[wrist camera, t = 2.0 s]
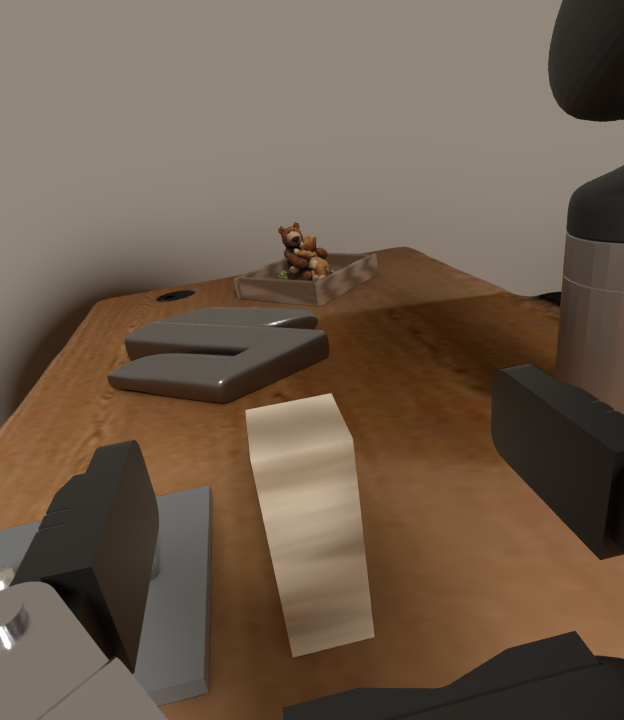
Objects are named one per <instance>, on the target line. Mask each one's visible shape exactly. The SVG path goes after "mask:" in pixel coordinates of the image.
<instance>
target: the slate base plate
mask: <svg viewBox="0 0 624 720" xmlns="http://www.w3.org/2000/svg"><path fill="white" fill-rule="evenodd" d="M156 501H157V505H158V512H159V531H158V537H157V543H156V549H155V555H154V561H153V566H152V572H151V578H150V584H149V590H148V596H147V602H146V608H145V614H144V620H143V626H142V631H141V637H140V643H139V649H138V655H137V661H136V667H135V673H133V674H132V675H133V676H134V678H135V679H136V680H137V681H138V683H139V684H140V685H141V686H142V688H143V689H144V690H145V691H146V693H147V694H148V695H149V696H150V698H151V699H152V700H153V701H154V703H155V704H156V705H157V706H160V705H164V704H168V703H172V702H176V701H179V700H183V699H187V698H191V697H195V696H199V695H203V694H207V693H209V649H210V601H211V553H212V505H213V497H212V493H211V489H210V485H209V486H204V487H200V488H195V489H190V490H185V491H181V492H176V493H171V494H167V495H162V496H157V497H156ZM41 522H42V521H39V522H34V523H30V524H25V525H20V526H15V527H11V528H6V529H2V530H1V532H0V591H1V590H3V589H6V588H8V587H9V586H10V584H11V582H12V580H13V578H14V576H15V574H16V572H17V570H18V568H19V566H20V564H21V562H22V560H23V558H24V556H25V554H26V552H27V550H28V548H29V546H30V544H31V542H32V540H33V538H34V536H35V534H36V532H39V529H38V528H39V526H40V524H41Z"/></svg>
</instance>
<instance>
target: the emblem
mask: <svg viewBox="0 0 624 720" xmlns="http://www.w3.org/2000/svg"><path fill="white" fill-rule="evenodd" d="M317 323H318V319H317V317H316V315H315V313H313V312H312V311H308V310H304V309H297V308H223V307H211V308H206V309H202V310H198V311H194V312H190V313H186V314H182V315H178V316H174V317H170V318H166V319H162V320H158V321H154V322H151V323H148V324H147V325H145V326H143V327H141V328H140V329H138V330H136V331H134V332H133V333H131V334H129V335H127V336H126V337H125V346H126V350H127V353H128V356H129V358H130V360H131V361H132V362H129V363H127V364H125V365H123V366H121V367H119V368H117V369H115V370H114V371H112V372H111V373H110V374H109V375H108V376H107V377H108V381H109V384H110V385H111V386H112V387H114V388H118V389H127V390H135V391H142V392H147V393H152V394H158V395H164V396H171V397H178V398H186V399H193V400H201V401H208V402H216V403H227V402H230V401H233V400H235V399H237V398H240V397H242V396H244V395H247V394H249V393H251V392H254V391H256V390H258V389H261V388H263V387H265V386H268V385H270V384H272V383H274V382H277V381H279V380H281V379H283V378H285V377H288V376H290V375H292V374H294V373H296V372H298V371H300V370H303V369H305V368H307V367H309V366H311V365H313V364H315V363H317V362H320V361H322V360H324V359H326V358H327V357H328V355H329V343H328V338H327V335H326V333H325V332H324V331H322V330H315V329H313V328H315V327H316V325H317Z"/></svg>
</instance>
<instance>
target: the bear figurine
mask: <svg viewBox="0 0 624 720" xmlns="http://www.w3.org/2000/svg"><path fill="white" fill-rule="evenodd" d="M278 231H279V233H280V234H281V236H282V241H283V244H284V245H285V246H286V250H285V251H284V255H285V257H286V258H287V265H288V267H287V272H286V271H282V272H280V275H278V276H277V277H278V278H279V279H285V280H303V281H318V280H320V279H322V278H324V277H326V276H328V275H330V274H332V273H334V272H335V271H333V270H332V269H331V268H330V265H329V264H328V263H327V261H326V260H325V259H326V257H327V251H326V250H325V249H323V248H316V236H313V237H311V236H308V237H305V238H304V239H303V236H302V234H301V232H300V231H299V224H298V223H294V225H293V227H292V226H291V227H288V228H286V229H284V228H283V227H280V228H279V230H278Z"/></svg>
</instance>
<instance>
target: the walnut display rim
mask: <svg viewBox="0 0 624 720" xmlns="http://www.w3.org/2000/svg"><path fill="white" fill-rule="evenodd" d="M325 260H326V261H327V263H328V264H329V265H330V268H331V269H332V270H333V271H335V272H334V273H332V274H330V275H328V276H326V277H324V278H322V279H320V280H318V281H303V280H285V279H279V278H278V277H277V276H278V275H280V272H282V271H286V272H287V267H288V265H287V258H284V259H281V260H279V261H276V262H274V263H271V264H269V265H266V266H264V267H261V268H259V269H257V270H254V271H252V272H249V273H247V274H244V275H242V276H239V277H237V278H234V281H235V286H236V291H237V297H238V299H245V300H256V301H267V302H278V303H289V304H300V305H311V306H323V305H324V304H326V303H328V302H330V301H331V300H333V299H335V298H337V297H338V296H340V295H342V294H344V293H345V292H347V291H349V290H351V289H352V288H354V287H356V286H358V285H359V284H361V283H363V282H365V281H366V280H368V279H370V278H372V277H373V276H375V275H377V274H378V272H377V258H376V254H338V253H336V254H335V253H327V257H326V259H325Z"/></svg>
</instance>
